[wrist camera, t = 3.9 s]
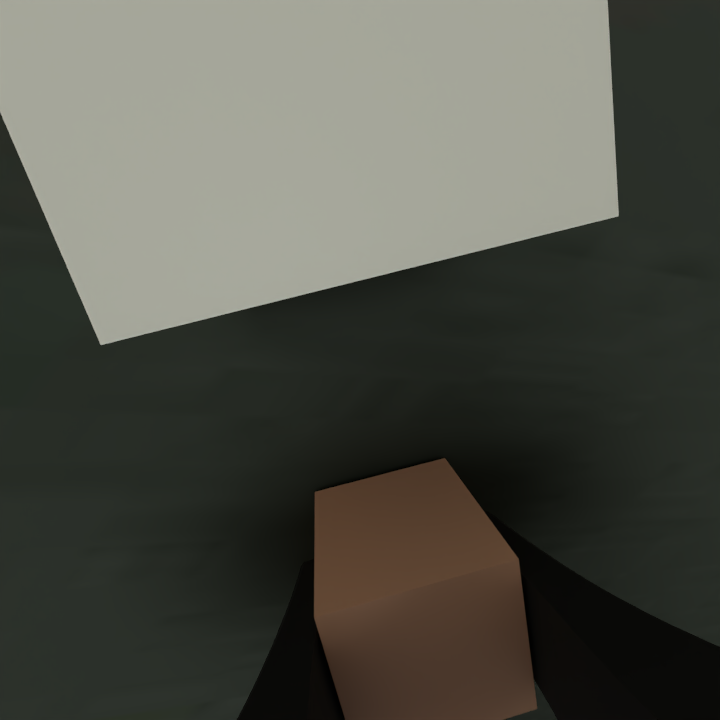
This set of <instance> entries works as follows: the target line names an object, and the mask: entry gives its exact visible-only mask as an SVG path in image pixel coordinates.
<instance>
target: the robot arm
mask: <svg viewBox="0 0 720 720" xmlns="http://www.w3.org/2000/svg"><path fill="white" fill-rule="evenodd" d="M485 514H486V515H487V516H488V518H489V519H490V520H491V522H492V523H493V525H494V526H495V527H496V529H497V530H498V531H499V533H500V534H501V535H502V537H503V538H504V540H505V541H506V542H507V544H508V545H509V546H510V548H511V549H512V551H513V552H514V553H515V555H516V556H517V557H518V559H519V566H520V574H521V582H522V590H523V598H524V606H525V614H526V622H527V630H528V638H529V646H530V654H531V662H532V670H533V678H534V680H535V681H536V683H537V685H538V686H539V688H540V690H541V691H542V693H543V695H544V696H545V698H546V700H547V701H548V703H549V705H550V707H551V708H552V710H553V712H554V714H555V716H556V717H557V719H558V720H720V647H719V646H716V645H714V644H712V643H709V642H707V641H705V640H703V639H701V638H699V637H696V636H694V635H692V634H690V633H688V632H685V631H683V630H681V629H679V628H677V627H675V626H672V625H670V624H668V623H666V622H664V621H662V620H660V619H658V618H656V617H654V616H652V615H650V614H648V613H646V612H644V611H642V610H640V609H638V608H636V607H635V606H633V605H631V604H629V603H627V602H625V601H623V600H621V599H620V598H618V597H616V596H614V595H612V594H610V593H609V592H607V591H605V590H603V589H602V588H600V587H598V586H597V585H595V584H593V583H592V582H590V581H588V580H587V579H585V578H583V577H582V576H580V575H578V574H577V573H575V572H574V571H572V570H570V569H569V568H567V567H566V566H564V565H563V564H561V563H560V562H558V561H557V560H555V559H554V558H552V557H551V556H549V555H548V554H546V553H545V552H543V551H542V550H540V549H539V548H537V547H536V546H534V545H533V544H532V543H530V542H529V541H527V540H526V539H525V538H523V537H522V536H520V535H519V534H518V533H516V532H515V531H513V530H512V529H511V528H509V527H508V526H507V525H505V524H504V523H503V522H501V521H500V520H499V519H497V518H496V517H495V516H493V515H492V514H490V513H489V512H485ZM237 720H345V717H344V714H343V711H342V707H341V704H340V701H339V698H338V694H337V691H336V688H335V684H334V681H333V678H332V675H331V671H330V668H329V665H328V662H327V658H326V655H325V652H324V648H323V645H322V642H321V639H320V635H319V632H318V629H317V626H316V622H315V619H314V559H313V560H310V561H306V562H304V563H303V565H302V566H301V569H300V572H299V576H298V579H297V582H296V585H295V588H294V591H293V594H292V597H291V599H290V602H289V605H288V608H287V610H286V613H285V615H284V618H283V620H282V623H281V625H280V628H279V630H278V633H277V635H276V638H275V640H274V643H273V645H272V647H271V650H270V652H269V654H268V656H267V658H266V661H265V663H264V665H263V667H262V670H261V672H260V674H259V676H258V678H257V681H256V683H255V685H254V687H253V689H252V691H251V693H250V695H249V697H248V699H247V701H246V703H245V705H244V707H243V709H242V711H241V713H240V715H239V717H238V718H237Z"/></svg>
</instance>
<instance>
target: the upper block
mask: <svg viewBox="0 0 720 720" xmlns="http://www.w3.org/2000/svg"><path fill="white" fill-rule="evenodd" d="M0 113H1V115H2V117H3V120H4V122H5V124H6V126H7V129H8V131H9V133H10V136H11V138H12V140H13V143H14V145H15V147H16V150H17V152H18V154H19V157H20V159H21V161H22V164H23V166H24V168H25V171H26V173H27V175H28V177H29V180H30V182H31V184H32V187H33V189H34V191H35V194H36V196H37V198H38V201H39V203H40V205H41V208H42V210H43V212H44V215H45V217H46V219H47V221H48V224H49V226H50V228H51V231H52V233H53V235H54V238H55V240H56V242H57V245H58V247H59V249H60V252H61V254H62V256H63V259H64V261H65V263H66V265H67V268H68V270H69V272H70V275H71V277H72V279H73V282H74V284H75V286H76V289H77V291H78V293H79V296H80V298H81V300H82V303H83V305H84V307H85V309H86V312H87V314H88V316H89V319H90V321H91V323H92V326H93V328H94V330H95V333H96V335H97V337H98V340H99V342H100V344H101V345H103V344H107V343H111V342H115V341H119V340H123V339H127V338H131V337H135V336H139V335H143V334H147V333H151V332H155V331H159V330H163V329H167V328H171V327H175V326H179V325H183V324H187V323H191V322H195V321H199V320H203V319H207V318H211V317H215V316H219V315H223V314H227V313H231V312H235V311H239V310H243V309H247V308H251V307H255V306H259V305H263V304H267V303H271V302H276V301H280V300H284V299H288V298H292V297H296V296H300V295H304V294H308V293H312V292H316V291H320V290H324V289H328V288H332V287H336V286H340V285H344V284H348V283H352V282H356V281H360V280H364V279H368V278H372V277H376V276H380V275H384V274H388V273H392V272H396V271H400V270H404V269H408V268H412V267H416V266H420V265H424V264H428V263H432V262H436V261H440V260H444V259H448V258H452V257H456V256H460V255H464V254H468V253H472V252H476V251H480V250H484V249H488V248H492V247H496V246H501V245H505V244H509V243H513V242H517V241H521V240H525V239H529V238H533V237H537V236H541V235H545V234H549V233H553V232H557V231H561V230H565V229H569V228H573V227H577V226H581V225H585V224H589V223H593V222H597V221H601V220H605V219H609V218H613V217H617V216H619V213H618V194H617V174H616V155H615V136H614V117H613V97H612V78H611V59H610V40H609V20H608V1H607V0H0Z"/></svg>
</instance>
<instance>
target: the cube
mask: <svg viewBox="0 0 720 720" xmlns="http://www.w3.org/2000/svg"><path fill="white" fill-rule="evenodd" d="M314 619H315V622H316V626H317V629H318V632H319V635H320V639H321V642H322V645H323V648H324V652H325V655H326V658H327V662H328V665H329V668H330V671H331V675H332V678H333V681H334V684H335V688H336V691H337V694H338V698H339V701H340V704H341V707H342V711H343V714H344V717H345V720H504V719H507V718H510V717H513V716H516V715H519V714H522V713H525V712H529V711H532V710H535V709H537V702H536V694H535V686H534V678H533V670H532V662H531V654H530V646H529V638H528V630H527V622H526V614H525V606H524V598H523V590H522V582H521V574H520V566H519V559H518V557H517V556H516V555H515V553H514V552H513V551H512V549H511V548H510V546H509V545H508V544H507V542H506V541H505V540H504V538H503V537H502V535H501V534H500V533H499V531H498V530H497V529H496V527H495V526H494V525H493V523H492V522H491V520H490V519H489V518H488V516H487V515H486V514H485V512H484V511H483V510H482V508H481V507H480V505H479V504H478V503H477V501H476V500H475V499H474V497H473V496H472V494H471V493H470V492H469V490H468V489H467V488H466V486H465V485H464V484H463V482H462V481H461V479H460V478H459V477H458V475H457V474H456V473H455V471H454V470H453V469H452V467H451V466H450V464H449V463H448V462H447V460H446V459H445V458H443V459H439V460H435V461H432V462H428V463H424V464H420V465H416V466H412V467H408V468H405V469H401V470H397V471H393V472H389V473H385V474H382V475H378V476H374V477H370V478H366V479H362V480H359V481H355V482H351V483H347V484H343V485H339V486H336V487H332V488H328V489H324V490H320V491H316V492H315V548H314Z"/></svg>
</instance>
